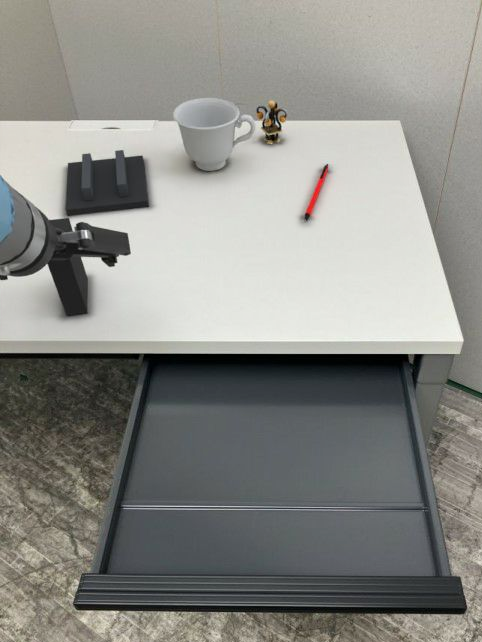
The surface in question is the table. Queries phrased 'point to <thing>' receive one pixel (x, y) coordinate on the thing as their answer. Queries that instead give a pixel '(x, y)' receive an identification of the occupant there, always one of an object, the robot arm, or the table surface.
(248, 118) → the teacup
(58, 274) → the foam pad
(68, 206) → the base pad
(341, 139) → the table surface
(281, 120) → the figurine
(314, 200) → the pen
